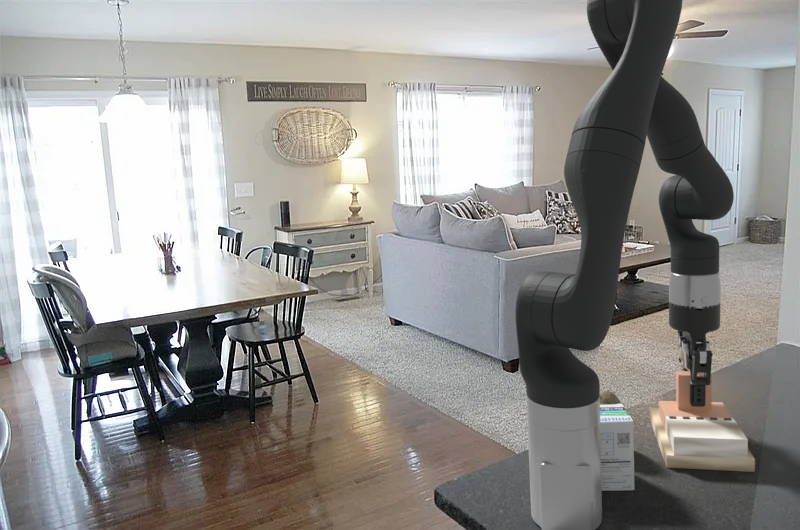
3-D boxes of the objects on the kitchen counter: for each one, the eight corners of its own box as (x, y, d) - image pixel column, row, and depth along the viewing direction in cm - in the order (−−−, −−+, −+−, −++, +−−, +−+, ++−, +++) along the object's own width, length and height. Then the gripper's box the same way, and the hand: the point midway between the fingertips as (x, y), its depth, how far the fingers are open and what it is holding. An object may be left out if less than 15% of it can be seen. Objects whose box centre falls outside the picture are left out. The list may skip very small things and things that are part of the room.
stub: (732, 432, 99) (733, 381, 97) (664, 429, 101) (664, 380, 100) (722, 415, 105) (722, 368, 103) (658, 413, 107) (658, 367, 106)
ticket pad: (754, 471, 91) (755, 439, 90) (666, 467, 94) (666, 435, 93) (722, 420, 108) (723, 392, 107) (649, 418, 111) (649, 391, 110)
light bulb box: (624, 468, 95) (623, 401, 93) (636, 492, 88) (635, 420, 86) (552, 469, 96) (550, 403, 94) (559, 493, 89) (557, 422, 87)
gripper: (662, 290, 108) (662, 382, 111) (677, 310, 94) (677, 415, 97) (709, 289, 106) (708, 383, 109) (732, 309, 92) (730, 417, 95)
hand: (693, 398), depth 103 cm, fingers open, 5 cm apart
